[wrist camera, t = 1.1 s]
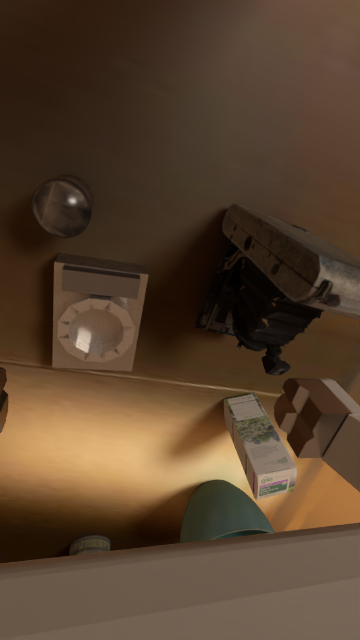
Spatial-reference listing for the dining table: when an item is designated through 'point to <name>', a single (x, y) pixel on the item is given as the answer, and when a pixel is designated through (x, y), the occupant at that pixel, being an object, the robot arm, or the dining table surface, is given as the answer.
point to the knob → (63, 206)
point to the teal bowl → (221, 514)
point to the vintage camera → (276, 284)
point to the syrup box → (259, 447)
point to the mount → (96, 312)
